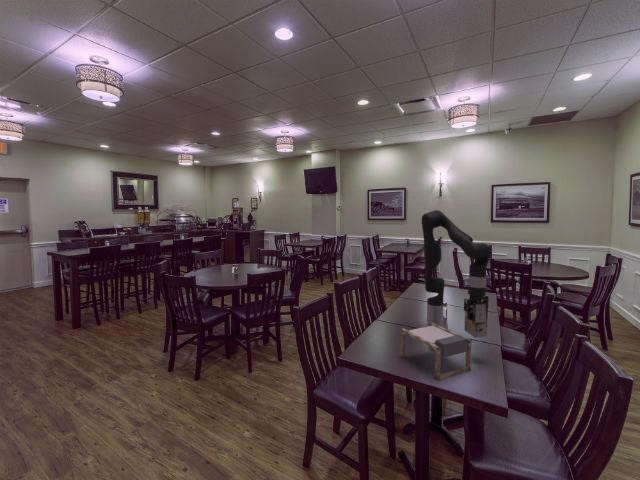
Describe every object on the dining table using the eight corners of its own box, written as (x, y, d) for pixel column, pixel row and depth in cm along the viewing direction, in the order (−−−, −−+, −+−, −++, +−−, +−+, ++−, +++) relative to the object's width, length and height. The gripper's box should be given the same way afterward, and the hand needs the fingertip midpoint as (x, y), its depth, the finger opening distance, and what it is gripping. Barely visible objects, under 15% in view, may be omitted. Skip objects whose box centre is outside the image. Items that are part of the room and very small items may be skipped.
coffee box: (487, 337, 143) (489, 304, 142) (474, 337, 143) (476, 304, 141) (475, 329, 152) (477, 298, 151) (463, 330, 152) (464, 298, 150)
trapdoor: (468, 351, 138) (469, 338, 137) (441, 358, 131) (442, 344, 131) (432, 333, 158) (432, 322, 157) (408, 339, 151) (408, 327, 151)
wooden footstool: (470, 370, 140) (471, 340, 138) (437, 380, 132) (438, 348, 130) (431, 348, 162) (432, 322, 161) (400, 356, 154) (401, 328, 153)
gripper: (480, 281, 151) (479, 313, 153) (459, 285, 146) (458, 318, 147) (494, 285, 145) (493, 318, 146) (473, 288, 139) (472, 323, 140)
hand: (475, 318), depth 147 cm, fingers closed on coffee box, 7 cm apart
